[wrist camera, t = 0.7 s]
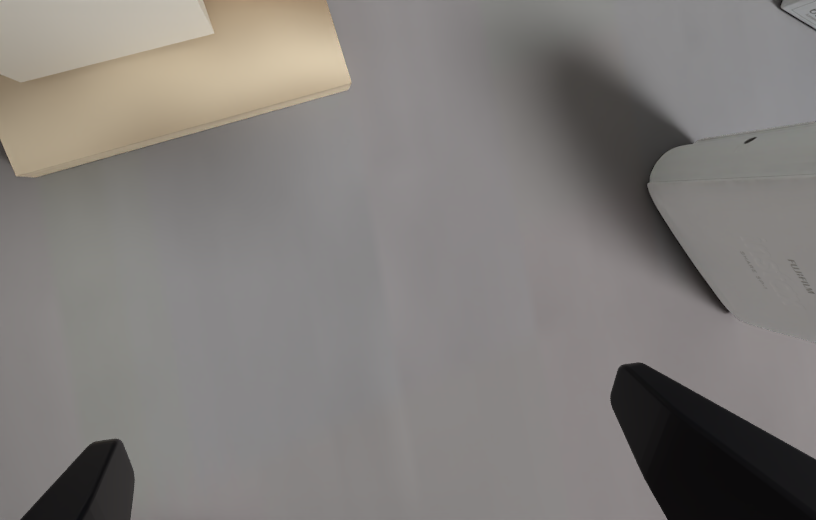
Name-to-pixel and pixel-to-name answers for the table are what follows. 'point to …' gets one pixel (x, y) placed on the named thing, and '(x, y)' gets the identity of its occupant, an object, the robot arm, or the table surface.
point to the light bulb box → (801, 10)
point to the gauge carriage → (90, 32)
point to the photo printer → (748, 221)
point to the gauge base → (175, 86)
